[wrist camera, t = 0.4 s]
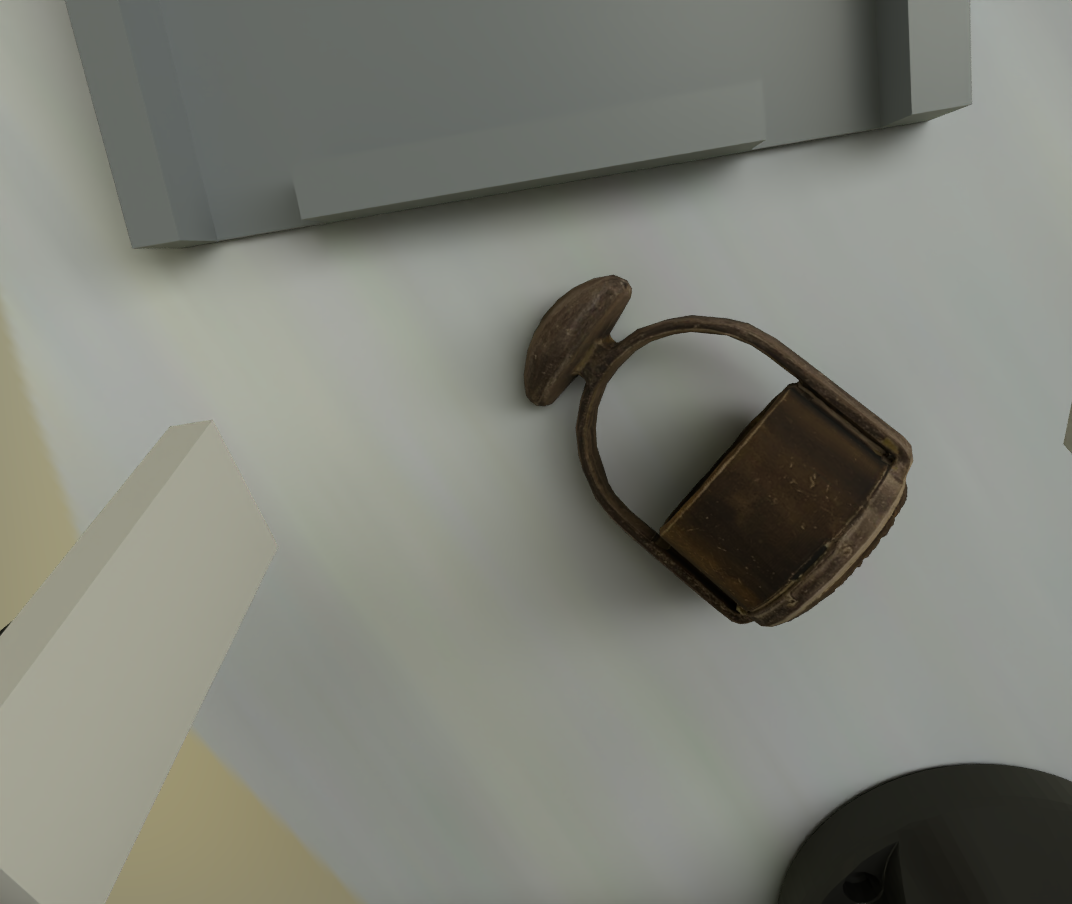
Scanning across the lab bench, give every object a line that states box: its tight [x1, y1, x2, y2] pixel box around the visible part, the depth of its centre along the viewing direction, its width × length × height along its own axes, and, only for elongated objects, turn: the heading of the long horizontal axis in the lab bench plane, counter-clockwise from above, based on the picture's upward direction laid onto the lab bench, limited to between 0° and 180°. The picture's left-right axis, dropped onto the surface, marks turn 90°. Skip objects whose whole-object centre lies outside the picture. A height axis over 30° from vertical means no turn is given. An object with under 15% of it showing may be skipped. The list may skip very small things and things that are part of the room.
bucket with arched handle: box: [524, 275, 913, 627], centre depth 24 cm, size 7×13×10 cm
